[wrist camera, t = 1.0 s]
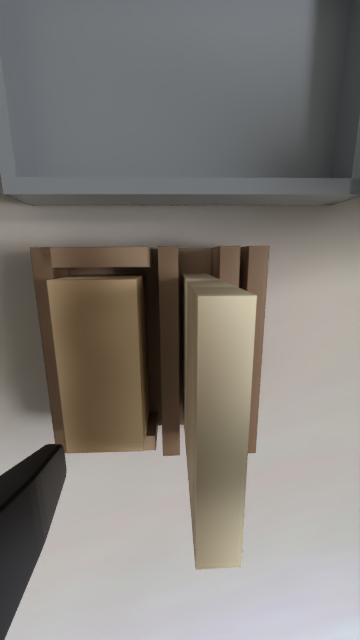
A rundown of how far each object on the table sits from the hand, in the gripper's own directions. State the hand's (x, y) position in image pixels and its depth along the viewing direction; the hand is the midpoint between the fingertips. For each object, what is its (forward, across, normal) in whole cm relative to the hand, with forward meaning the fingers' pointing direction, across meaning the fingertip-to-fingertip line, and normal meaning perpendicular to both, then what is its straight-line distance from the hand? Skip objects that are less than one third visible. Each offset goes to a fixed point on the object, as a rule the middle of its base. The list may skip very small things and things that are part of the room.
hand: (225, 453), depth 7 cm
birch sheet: (+10, 0, 0) cm, 10 cm away
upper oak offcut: (+8, +5, 0) cm, 10 cm away
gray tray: (+12, +1, -14) cm, 19 cm away
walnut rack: (+12, +3, 0) cm, 12 cm away
